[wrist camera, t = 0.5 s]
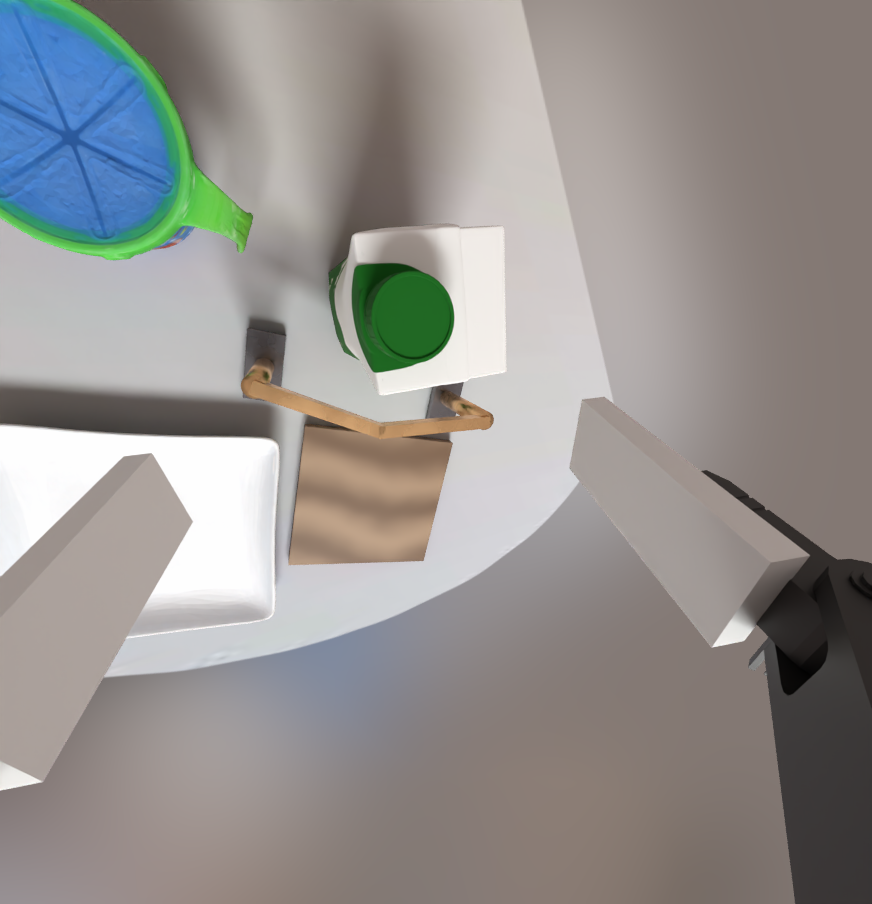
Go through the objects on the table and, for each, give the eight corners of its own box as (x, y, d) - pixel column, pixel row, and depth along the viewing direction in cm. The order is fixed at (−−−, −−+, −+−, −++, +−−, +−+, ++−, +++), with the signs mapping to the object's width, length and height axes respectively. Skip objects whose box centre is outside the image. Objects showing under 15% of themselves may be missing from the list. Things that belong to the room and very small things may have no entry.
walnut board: (305, 423, 36) (305, 426, 35) (449, 440, 42) (452, 443, 41) (288, 559, 40) (288, 564, 40) (421, 556, 47) (423, 560, 46)
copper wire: (248, 327, 31) (230, 336, 22) (462, 371, 40) (512, 391, 31) (244, 395, 33) (225, 429, 24) (449, 423, 41) (493, 456, 32)
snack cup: (-32, 186, 23) (-233, 111, 14) (15, 13, 22) (-179, -192, 13) (228, 315, 31) (201, 319, 22) (279, 193, 29) (272, 143, 20)
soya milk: (315, 262, 31) (342, 205, 14) (414, 254, 34) (542, 199, 16) (336, 363, 35) (379, 420, 17) (424, 350, 37) (538, 388, 20)
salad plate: (33, 628, 34) (8, 658, 31) (-21, 410, 27) (-60, 423, 24) (277, 599, 42) (275, 622, 39) (281, 426, 36) (280, 437, 33)
